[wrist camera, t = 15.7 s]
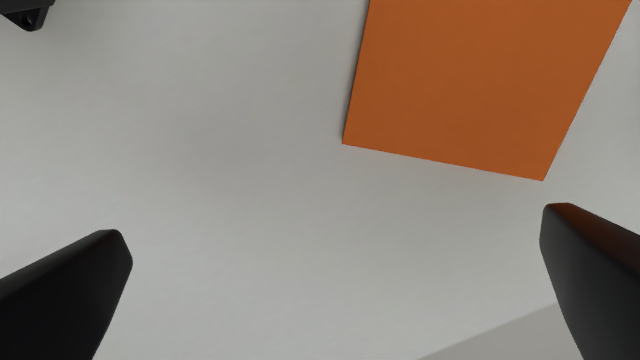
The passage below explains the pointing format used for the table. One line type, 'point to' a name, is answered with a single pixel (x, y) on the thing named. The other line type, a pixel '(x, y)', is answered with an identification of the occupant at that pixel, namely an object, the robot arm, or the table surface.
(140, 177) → the table surface
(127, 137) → the table surface
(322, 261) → the table surface
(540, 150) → the rag
